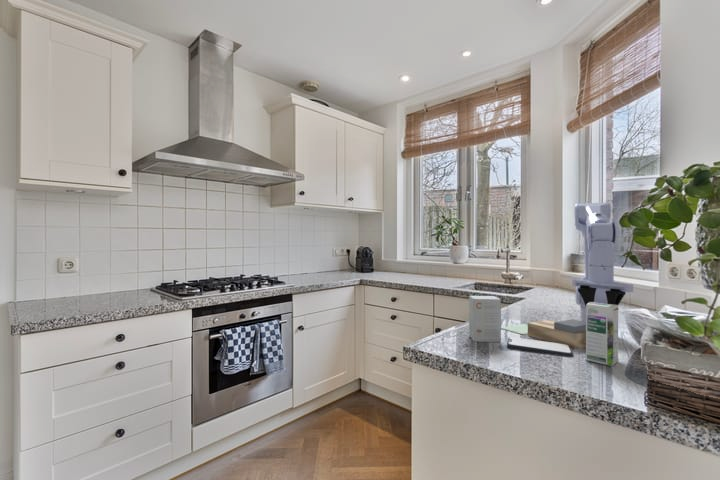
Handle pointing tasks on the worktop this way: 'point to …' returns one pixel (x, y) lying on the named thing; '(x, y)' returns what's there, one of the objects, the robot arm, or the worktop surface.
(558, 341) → the wooden block
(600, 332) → the syrup box
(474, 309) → the small box
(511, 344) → the phone case
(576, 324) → the tile
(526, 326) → the mat
